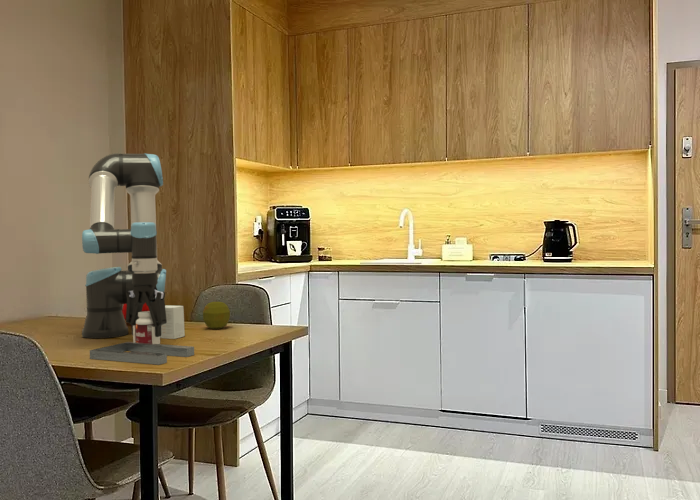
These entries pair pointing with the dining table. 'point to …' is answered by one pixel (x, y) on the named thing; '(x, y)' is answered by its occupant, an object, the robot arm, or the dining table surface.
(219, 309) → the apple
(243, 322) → the dining table surface
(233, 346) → the dining table surface
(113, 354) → the grey u-shaped frame
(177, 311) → the small box
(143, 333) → the pill bottle
